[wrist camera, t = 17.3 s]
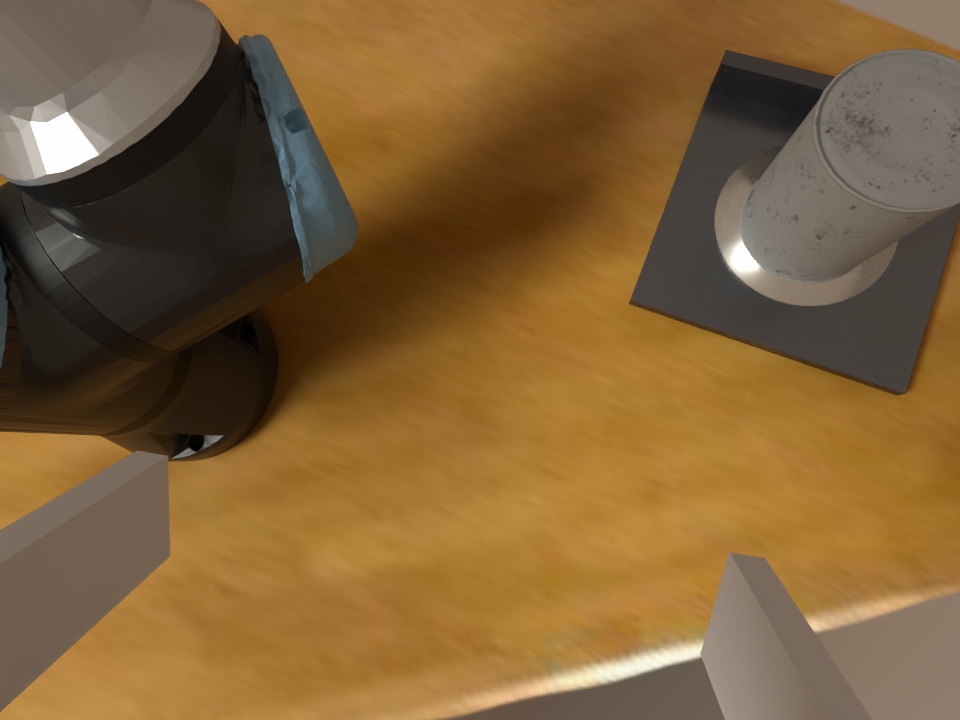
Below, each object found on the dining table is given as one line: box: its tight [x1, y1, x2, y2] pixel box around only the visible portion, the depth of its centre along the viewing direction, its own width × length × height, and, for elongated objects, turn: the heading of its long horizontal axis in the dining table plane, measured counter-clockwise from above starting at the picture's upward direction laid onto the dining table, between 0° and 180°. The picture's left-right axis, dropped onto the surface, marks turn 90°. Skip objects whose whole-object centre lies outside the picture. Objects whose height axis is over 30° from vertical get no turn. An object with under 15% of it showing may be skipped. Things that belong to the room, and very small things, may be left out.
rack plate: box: [629, 50, 960, 395], centre depth 41 cm, size 20×20×4 cm
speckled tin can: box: [739, 49, 960, 284], centre depth 35 cm, size 10×10×12 cm
